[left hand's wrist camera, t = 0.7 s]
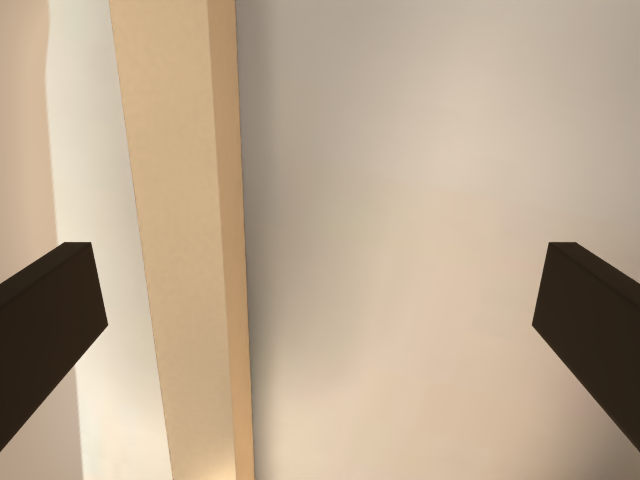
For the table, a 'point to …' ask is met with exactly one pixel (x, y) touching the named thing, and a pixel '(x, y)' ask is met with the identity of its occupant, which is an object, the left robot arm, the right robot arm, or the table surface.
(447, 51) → the table surface
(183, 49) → the beam
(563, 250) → the left robot arm
